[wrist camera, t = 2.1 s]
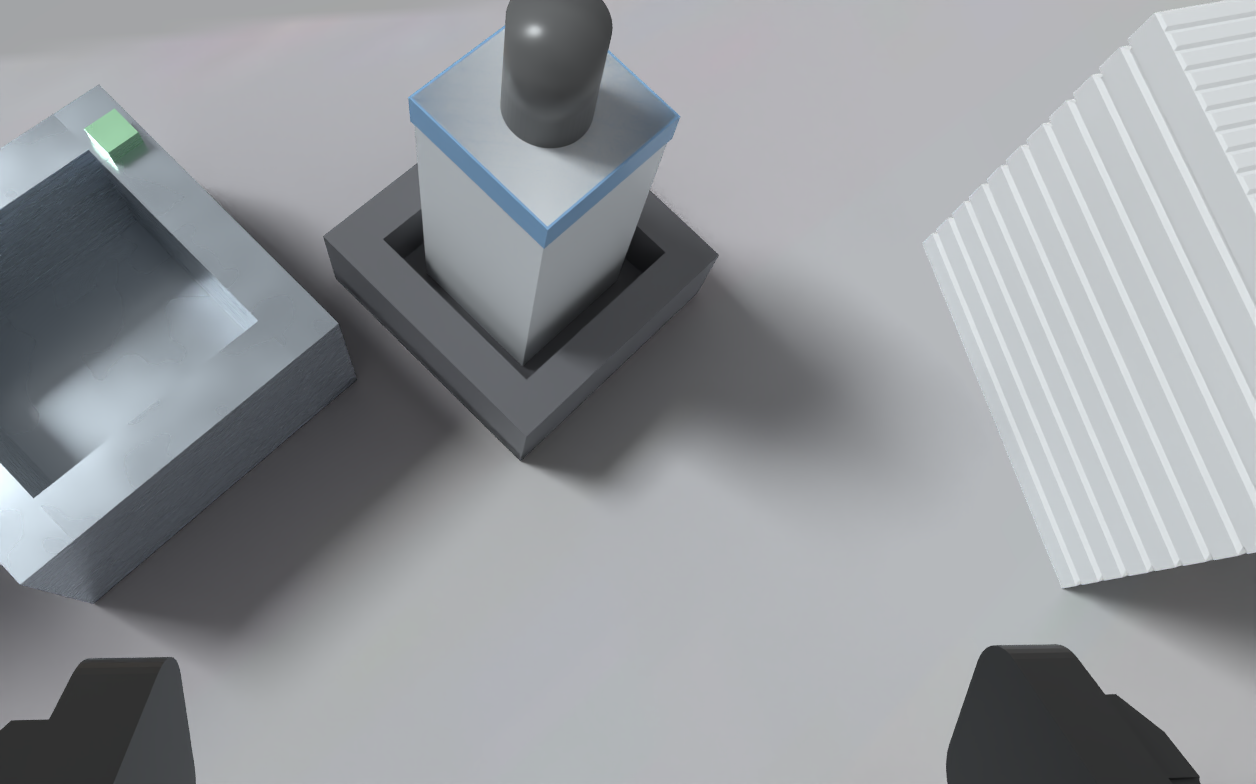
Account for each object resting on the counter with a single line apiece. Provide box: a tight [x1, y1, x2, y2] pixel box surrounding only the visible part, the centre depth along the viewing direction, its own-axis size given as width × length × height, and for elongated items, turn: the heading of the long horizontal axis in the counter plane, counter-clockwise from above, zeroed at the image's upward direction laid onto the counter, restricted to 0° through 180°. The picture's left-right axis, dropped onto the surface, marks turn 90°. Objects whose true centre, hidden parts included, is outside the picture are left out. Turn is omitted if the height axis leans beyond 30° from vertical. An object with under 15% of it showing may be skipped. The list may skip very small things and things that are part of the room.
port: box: [0, 85, 357, 604], centre depth 22 cm, size 8×8×4 cm
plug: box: [408, 0, 680, 366], centre depth 21 cm, size 4×4×10 cm
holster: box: [323, 163, 719, 461], centre depth 26 cm, size 7×7×2 cm
